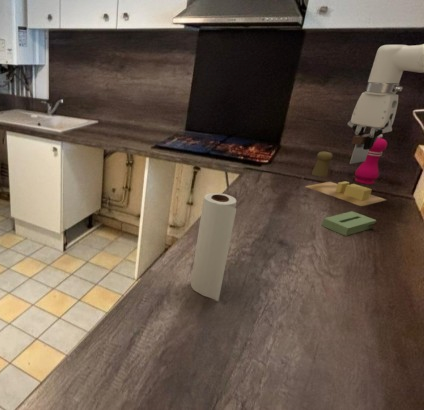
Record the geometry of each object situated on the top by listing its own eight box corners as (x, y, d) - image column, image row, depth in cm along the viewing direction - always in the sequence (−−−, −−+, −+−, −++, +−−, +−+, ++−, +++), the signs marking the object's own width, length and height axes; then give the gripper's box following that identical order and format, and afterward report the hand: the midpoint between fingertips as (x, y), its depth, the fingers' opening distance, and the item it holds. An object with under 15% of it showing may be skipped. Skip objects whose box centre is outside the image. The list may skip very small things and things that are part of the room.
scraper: (369, 161, 119) (378, 134, 115) (352, 164, 115) (361, 137, 112) (362, 160, 121) (370, 133, 117) (345, 163, 117) (353, 135, 114)
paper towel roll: (191, 277, 82) (205, 190, 73) (219, 283, 80) (236, 194, 71) (188, 295, 76) (202, 202, 67) (218, 302, 74) (236, 207, 65)
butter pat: (346, 191, 128) (349, 182, 127) (339, 193, 127) (342, 183, 126) (342, 190, 130) (345, 181, 128) (335, 191, 128) (338, 182, 127)
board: (385, 203, 122) (387, 199, 122) (360, 210, 117) (361, 206, 116) (328, 185, 139) (329, 181, 138) (304, 190, 134) (305, 186, 133)
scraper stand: (373, 227, 105) (376, 220, 104) (345, 236, 101) (348, 228, 100) (349, 218, 111) (351, 211, 110) (321, 225, 106) (324, 218, 106)
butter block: (368, 198, 122) (372, 189, 121) (361, 200, 121) (364, 191, 119) (350, 192, 127) (353, 183, 126) (343, 194, 126) (346, 185, 124)
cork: (323, 181, 142) (331, 154, 138) (307, 177, 147) (314, 151, 142) (329, 178, 146) (337, 152, 142) (313, 174, 150) (320, 149, 146)
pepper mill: (355, 186, 137) (372, 135, 130) (349, 180, 144) (365, 131, 136) (377, 188, 135) (396, 136, 127) (370, 182, 142) (387, 132, 134)
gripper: (419, 91, 104) (396, 152, 111) (360, 86, 117) (344, 141, 124) (404, 92, 101) (382, 155, 108) (346, 87, 114) (330, 143, 121)
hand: (362, 147), depth 116 cm, fingers closed on scraper, 2 cm apart
